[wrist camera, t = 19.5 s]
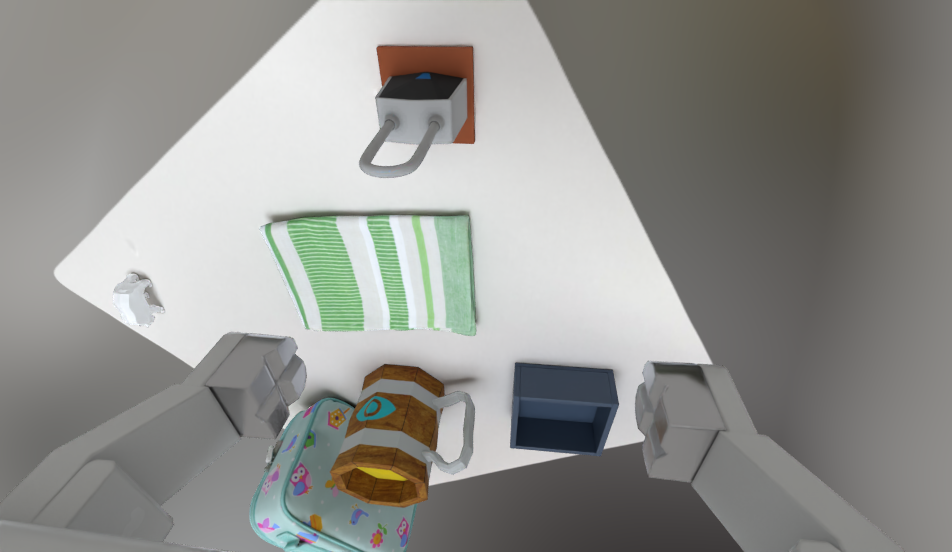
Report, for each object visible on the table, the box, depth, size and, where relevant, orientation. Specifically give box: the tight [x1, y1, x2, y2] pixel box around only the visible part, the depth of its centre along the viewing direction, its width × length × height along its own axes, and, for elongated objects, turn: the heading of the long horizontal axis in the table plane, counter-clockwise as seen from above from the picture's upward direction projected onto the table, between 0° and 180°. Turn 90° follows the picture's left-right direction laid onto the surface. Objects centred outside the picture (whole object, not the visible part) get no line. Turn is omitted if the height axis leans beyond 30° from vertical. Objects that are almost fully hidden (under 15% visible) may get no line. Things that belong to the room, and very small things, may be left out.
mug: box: [330, 364, 475, 508], centre depth 60 cm, size 20×14×15 cm
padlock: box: [359, 72, 467, 178], centre depth 31 cm, size 7×4×15 cm, turn 90°
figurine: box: [113, 273, 165, 327], centre depth 56 cm, size 2×8×5 cm, turn 171°
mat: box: [377, 46, 475, 144], centre depth 37 cm, size 8×8×1 cm
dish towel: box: [259, 215, 476, 336], centre depth 50 cm, size 18×23×3 cm
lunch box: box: [250, 398, 417, 552], centre depth 68 cm, size 27×10×21 cm, turn 38°
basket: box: [510, 363, 619, 456], centre depth 61 cm, size 14×14×6 cm
